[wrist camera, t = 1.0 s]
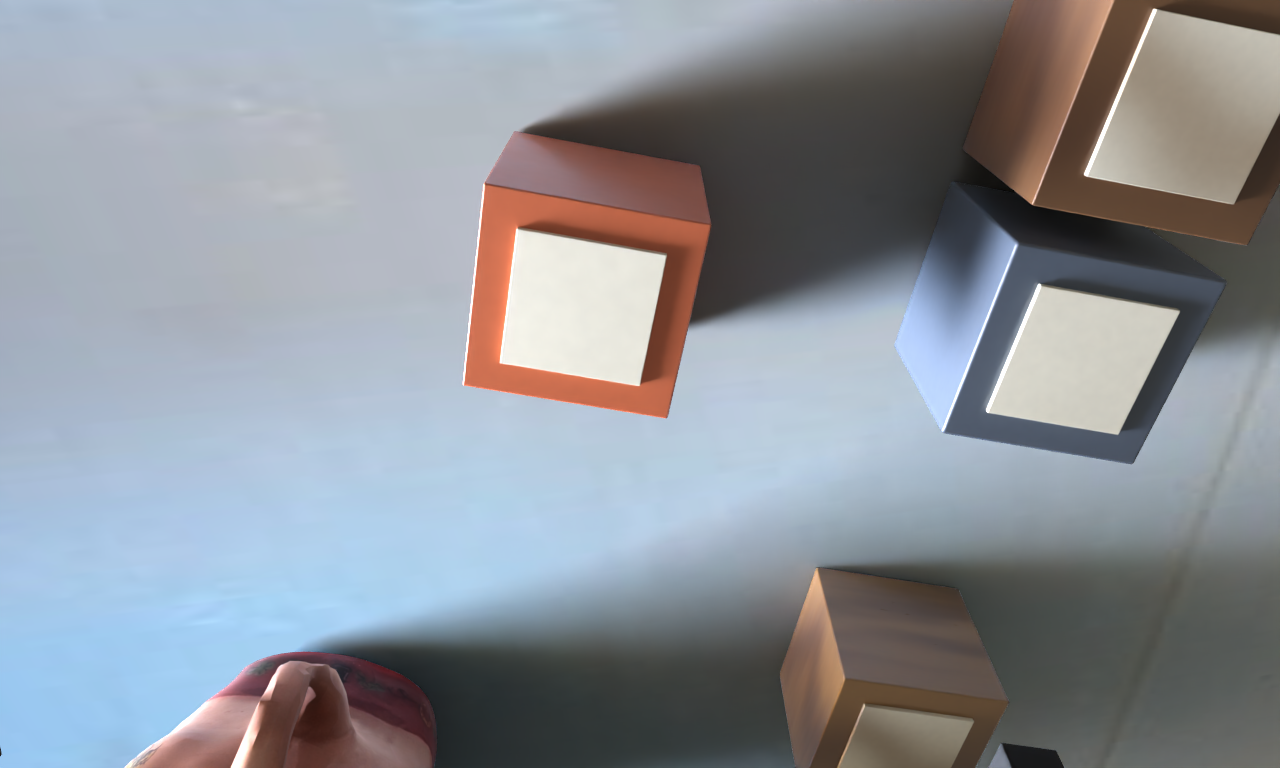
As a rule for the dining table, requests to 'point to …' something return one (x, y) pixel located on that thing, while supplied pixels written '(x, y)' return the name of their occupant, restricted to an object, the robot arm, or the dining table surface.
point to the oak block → (887, 677)
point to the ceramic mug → (305, 719)
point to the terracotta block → (585, 274)
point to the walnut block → (1138, 111)
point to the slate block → (1050, 325)
